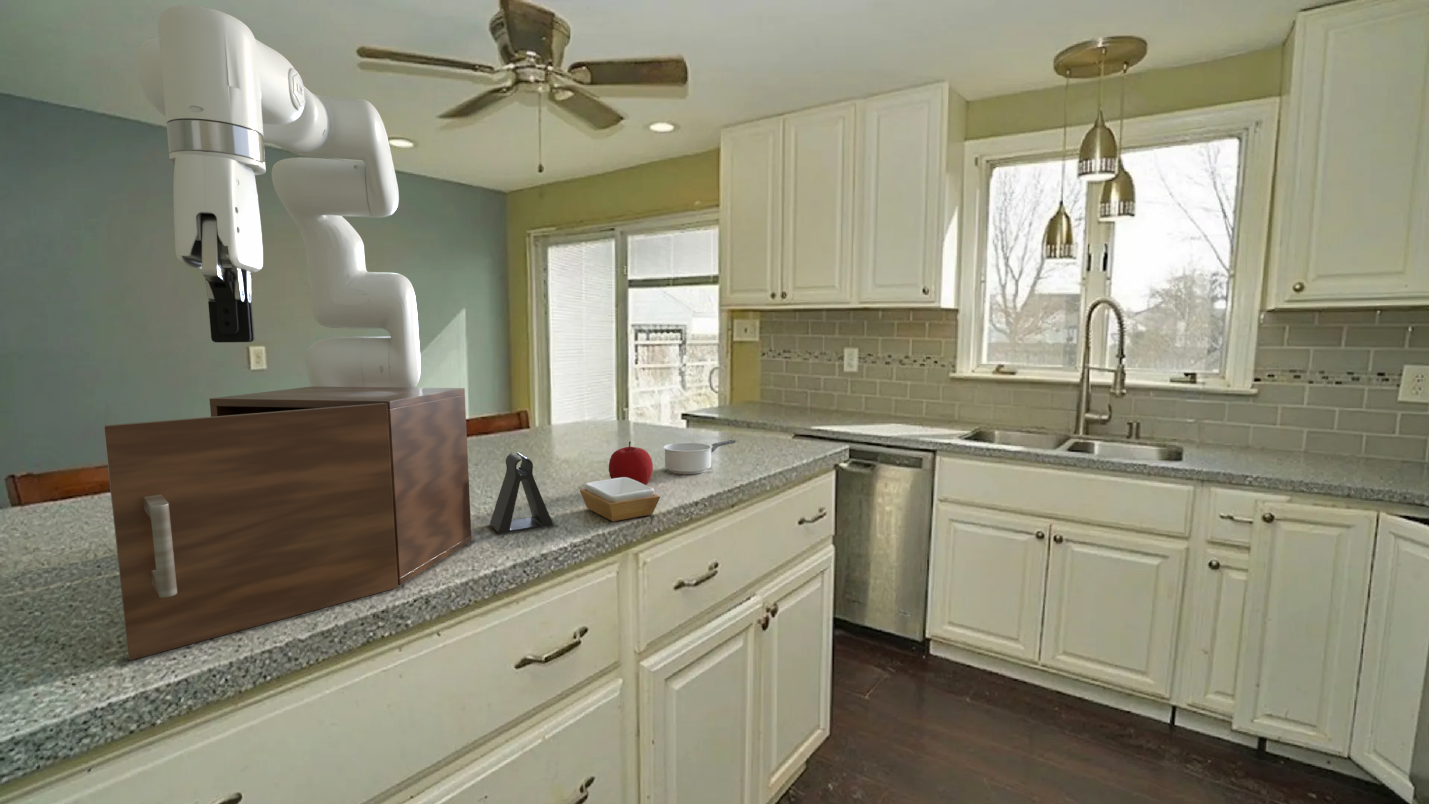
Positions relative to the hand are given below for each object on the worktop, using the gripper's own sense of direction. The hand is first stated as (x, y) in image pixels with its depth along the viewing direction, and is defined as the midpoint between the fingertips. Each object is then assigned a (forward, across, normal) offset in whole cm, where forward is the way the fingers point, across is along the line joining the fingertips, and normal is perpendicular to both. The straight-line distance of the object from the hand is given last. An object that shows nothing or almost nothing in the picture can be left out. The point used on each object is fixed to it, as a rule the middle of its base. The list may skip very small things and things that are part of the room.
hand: (233, 341), depth 66 cm
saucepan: (+31, -67, +74) cm, 104 cm away
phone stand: (+32, -35, +30) cm, 55 cm away
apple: (+31, -53, +53) cm, 82 cm away
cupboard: (+32, -28, +6) cm, 42 cm away
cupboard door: (+32, -5, +2) cm, 32 cm away
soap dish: (+32, -36, +47) cm, 67 cm away
